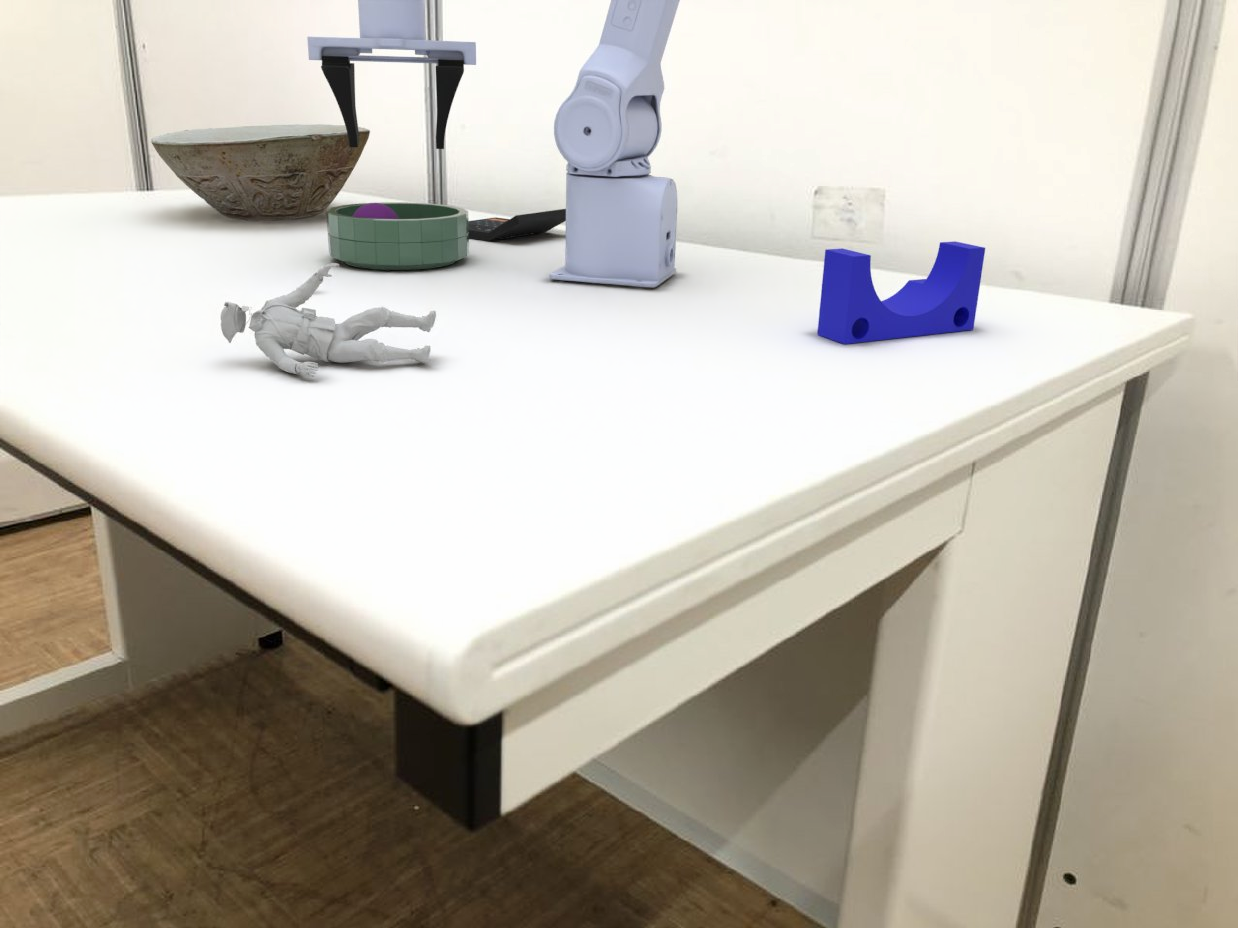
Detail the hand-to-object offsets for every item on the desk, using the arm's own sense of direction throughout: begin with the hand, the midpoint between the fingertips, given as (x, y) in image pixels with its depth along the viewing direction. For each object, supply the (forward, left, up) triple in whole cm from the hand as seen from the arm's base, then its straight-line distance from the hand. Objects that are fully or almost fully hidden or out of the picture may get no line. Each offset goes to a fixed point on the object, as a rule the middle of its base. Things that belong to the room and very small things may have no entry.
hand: (397, 147), depth 98 cm
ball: (+1, +3, -7) cm, 8 cm away
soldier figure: (-14, +36, -10) cm, 40 cm away
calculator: (-4, -17, -10) cm, 20 cm away
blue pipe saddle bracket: (-46, +13, -10) cm, 49 cm away
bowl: (+26, -18, -10) cm, 33 cm away
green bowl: (-1, +2, -10) cm, 10 cm away
